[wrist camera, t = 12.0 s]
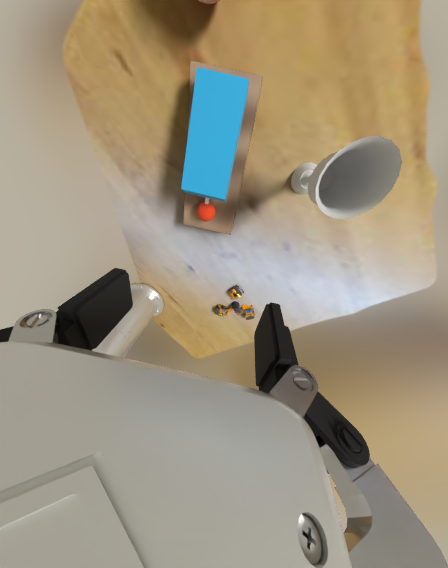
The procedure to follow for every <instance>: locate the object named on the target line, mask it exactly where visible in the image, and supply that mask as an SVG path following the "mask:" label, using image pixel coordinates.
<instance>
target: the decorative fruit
mask: <svg viewBox="0 0 448 568" xmlns="http://www.w3.org/2000/svg"><path fill="white" fill-rule="evenodd" d="M198 1H200V2H202V3H206V4H214V3H216V2H218V1H220V0H198Z"/></svg>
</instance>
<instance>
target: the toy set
mask: <svg viewBox="0 0 448 568" xmlns="http://www.w3.org/2000/svg"><path fill="white" fill-rule="evenodd" d="M229 291H230V292H227V293H228V294H229V295H230V296H231V298H232V299H236V298H238V297H240V296H241V295H242V294H243V293H244V291H243V290H241V289H240V288H239V286H237V285H236V286H235V287H234V288H232V289H231V290H229ZM233 294H234V295H233ZM221 307H223V308H221ZM239 307H240V305H239V303H238V302H236V301H234V302H233V303H232V308H233V309H234V311H235V313H236V314H238V315H242V314H243V312H244V317H245V318H246V320H250V319H253V318H254V315H255V314H254V311H253V307H252V305H251V306H248V305H243V306H242V308H243V311H242V309H240V308H239ZM249 308H250V309H249ZM246 309H248V310H246ZM230 310H231V308H229V309H227V307H226V306H223V305H222V306H221V305H220V304H218V306H217V308H216V309H215V314H217V315H218V316H223V317H224V316H226V315H228V312H229V311H230ZM226 311H227V314H226Z"/></svg>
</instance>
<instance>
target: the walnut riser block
mask: <svg viewBox="0 0 448 568" xmlns="http://www.w3.org/2000/svg"><path fill="white" fill-rule="evenodd" d="M197 67H200V68H204V69H208V70H213V71H217V72H221V73H226V74H230V75H234V76H239V77H243V78H247V79H249V85H248V95H247V100H246V105H245V110H244V115H243V120H242V125H241V130H240V134H239V139H238V144H237V149H236V154H235V159H234V164H233V168H232V173H231V178H230V183H229V188H228V193H227V198H226V202H223V201H219V200H215V199H211V198H210V200H209V203H211V204H212V205H213V206H214V208H215V216H214V218H213V219H212V220H211V221H208V222H207V221H203V220H201V219H200V218H199V217H198V214H197V209H198V206H199V205H200V204H201V203H202V202H205V197H202V196H198V195H194V194H189V193H186V192H185V200H184V222H183V224H184V225H189V226H194V227H198V228H203V229H207V230H212V231H216V232H221V233H225V234H230V235H231V232H232V228H233V223H234V218H235V214H236V209H237V204H238V199H239V194H240V189H241V184H242V179H243V174H244V170H245V165H246V160H247V155H248V150H249V145H250V140H251V135H252V131H253V126H254V121H255V116H256V111H257V106H258V101H259V96H260V92H261V86H262V78H263V76H260V75H255V74H251V73H246V72H241V71H237V70H232V69H227V68H222V67H218V66H213V65H208V64H204V63H199V62H194V61H191V68H190V90H189V112H188V131H189V124H190V116H191V108H192V101H193V93H194V85H195V78H196V70H197ZM187 139H188V134H187Z"/></svg>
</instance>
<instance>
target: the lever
mask: <svg viewBox="0 0 448 568" xmlns="http://www.w3.org/2000/svg"><path fill="white" fill-rule="evenodd" d="M248 85H249V79H247V78H243V77H239V76H234V75H230V74H226V73H221V72H217V71H213V70H208V69H204V68H200V67H197V70H196V78H195V85H194V93H193V101H192V108H191V116H190V124H189V131H188V139H187V147H186V154H185V162H184V170H183V177H182V185H181V189H182V190H183V191H184V192H186V193H189V194H194V195H198V196H202V197H205V202H202V203H201V204H200V205H199V206H198V209H197V214H198V217H199V218H200V219H201V220H203V221H207V222H208V221H211V220H212V219H213V218H214V216H215V208H214V206H213V205H212V204H211V203H209V200H210V198H211V199H215V200H219V201H223V202H226V198H227V193H228V188H229V183H230V178H231V173H232V168H233V164H234V159H235V154H236V149H237V144H238V139H239V134H240V130H241V125H242V120H243V115H244V110H245V105H246V100H247V95H248Z"/></svg>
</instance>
